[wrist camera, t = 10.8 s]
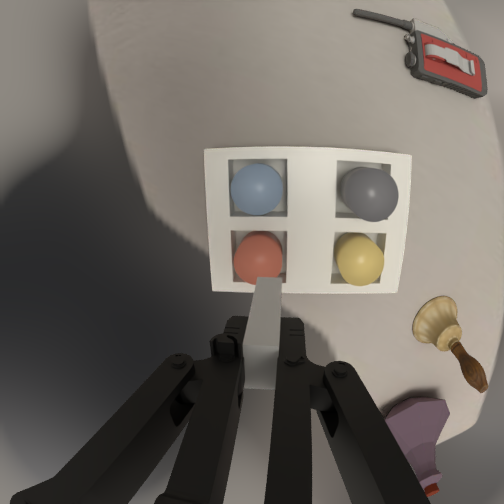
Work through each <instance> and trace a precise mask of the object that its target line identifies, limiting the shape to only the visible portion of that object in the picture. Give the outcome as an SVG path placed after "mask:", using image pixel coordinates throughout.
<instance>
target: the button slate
mask: <svg viewBox="0 0 504 504" xmlns="http://www.w3.org/2000/svg"><path fill="white" fill-rule="evenodd" d="M282 191H283V183H282V179H281V176H280V174H279V173H278V172H277V170H276V169H274V168H273V167H272V166H270V165H267V164H263V163H256V164H252V165H248V166H245V167H243V168H242V169H240V170H239V171H238V172H237V173H236V175H235V176H234V178H233V180H232V183H231V196H232V199H233V201H234V203H235V204H236V206H237V207H238V208H239V209H240V210H242V211H243V212H245V213H247V214H251V215H263V214H266V213H269V212H270V211H272V210H273V209H274V208H275V207H276V206H277V205H278V204H279V202H280V200H281V197H282Z"/></svg>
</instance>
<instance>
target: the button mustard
mask: <svg viewBox="0 0 504 504" xmlns="http://www.w3.org/2000/svg"><path fill="white" fill-rule="evenodd" d="M334 259H335V261H336V264H337V266H338V268H339V270H340V273H341V275H342V277H343V278H344V280H345V281H346V282H348V283H349V284H351V285H354V286H366V285H369V284H371V283H372V282H374V281H375V280H376V279H377V278H378V277H379V276H380V275H381V273H382V271H383V268H384V255H383V253H382V251H381V249H380V248H379V247H378V246H377V245H376V244H375V243H374V242H373V241H372V240H371V239H370V238H369V237H368V236H367V235H366V234H364V233H362V232H349V233H347V234H345V235H343V236H342V237H341V238H340V239H339V240H338V241H337V243H336V245H335V248H334Z"/></svg>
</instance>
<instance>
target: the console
mask: <svg viewBox="0 0 504 504" xmlns="http://www.w3.org/2000/svg"><path fill="white" fill-rule="evenodd" d="M411 157H412V155H407V154H399V153H390V152H381V151H370V150H358V149H344V148H325V147H288V146H269V147H231V148H212V149H204V166H205V189H206V208H207V225H208V241H209V255H210V268H211V280H212V291H226V292H254V291H255V286H256V285H252V284H249V283H247V282H245V281H244V280H242V279H241V278H240V277H239V276H238V274H237V273H236V271H235V268H234V256H235V253H236V251H237V249H238V247H239V245H240V243H241V241H242V239H243V238H244V237H245V236H246V235H247V234H248V233H250V232H252V231H269V232H271V233H273V234H274V235H275V236H276V237H277V238H278V239H279V240H280V242H281V245H282V268H281V271H280V273H279V275H278V276H277V278H282V293H307V294H356V293H397V290H398V284H399V279H400V273H401V267H402V261H403V255H404V248H405V240H406V232H407V223H408V213H409V201H410V186H411ZM256 163H263V164H267V165H270V166H272V167H273V168H274V169H276V170H277V172H278V173H279V174H280V176H281V179H282V183H283V191H282V197H281V200H280V202H279V204H278V205H277V206H276V207H275V208H274V209H273V210H272V211H270V212H269V213H266V214H263V215H251V214H247V213H245V212H243V211H242V210H240V209H239V208H238V207H237V206H236V204H235V203H234V201H233V199H232V196H231V183H232V180H233V178H234V176H235V175H236V173H237V172H238V171H239V170H240V169H242V168H243V167H245V166H248V165H252V164H256ZM356 167H370V168H376V169H381V170H383V171H385V172H387V173H388V174H389V175H391V177H392V178H393V179H394V181H395V182H396V185H397V187H398V193H399V198H398V203H397V206H396V208H395V210H394V211H393V213H392V214H391V215H390V216H389V217H388V218H386V219H384V220H382V221H379V222H368V221H365V220H363V219H361V218H360V217H358V216H357V215H356V214H355V213H354V212H353V211H351V210H350V209H349V208H348V207H347V206H346V205H345V204H344V202H343V200H342V197H341V192H340V187H341V182H342V180H343V178H344V176H345V175H346V174H347V173H348V172H349V171H350V170H352V169H354V168H356ZM349 232H362V233H364V234H366V235H367V236H368V237H369V238H370V239H371V240H372V241H373V242H374V243H375V244H376V245H377V246H378V247H379V248H380V249H381V251H382V253H383V255H384V268H383V271H382V273H381V275H380V276H379V277H378V278H377V279H376V280H375V281H374V282H372V283H371V284H369V285H366V286H354V285H351V284H349V283H348V282H346V281H345V280H344V278H343V277H342V275H341V273H340V270H339V268H338V266H337V264H336V261H335V259H334V248H335V245H336V243H337V241H338V240H339V239H340V238H341V237H342V236H343V235H345V234H347V233H349Z"/></svg>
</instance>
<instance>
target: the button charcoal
mask: <svg viewBox="0 0 504 504" xmlns="http://www.w3.org/2000/svg"><path fill="white" fill-rule="evenodd" d="M340 192H341V197H342V200H343V202H344V204H345V205H346V206H347V207H348V208H349V209H350V210H351V211H353V212H354V213H355V214H356V215H357V216H358V217H360V218H361V219H363V220H365V221H368V222H379V221H382V220H384V219H386V218H388V217H389V216H390V215H391V214H392V213H393V211H394V210H395V208H396V206H397V203H398V198H399V193H398V187H397V185H396V182H395V181H394V179H393V178H392V177H391V175H389V174H388V173H387V172H385V171H383V170H381V169H376V168H370V167H356V168H354V169H352V170H350V171H349V172H348V173H347V174H346V175H345V176H344V178H343V180H342V182H341V187H340Z"/></svg>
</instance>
